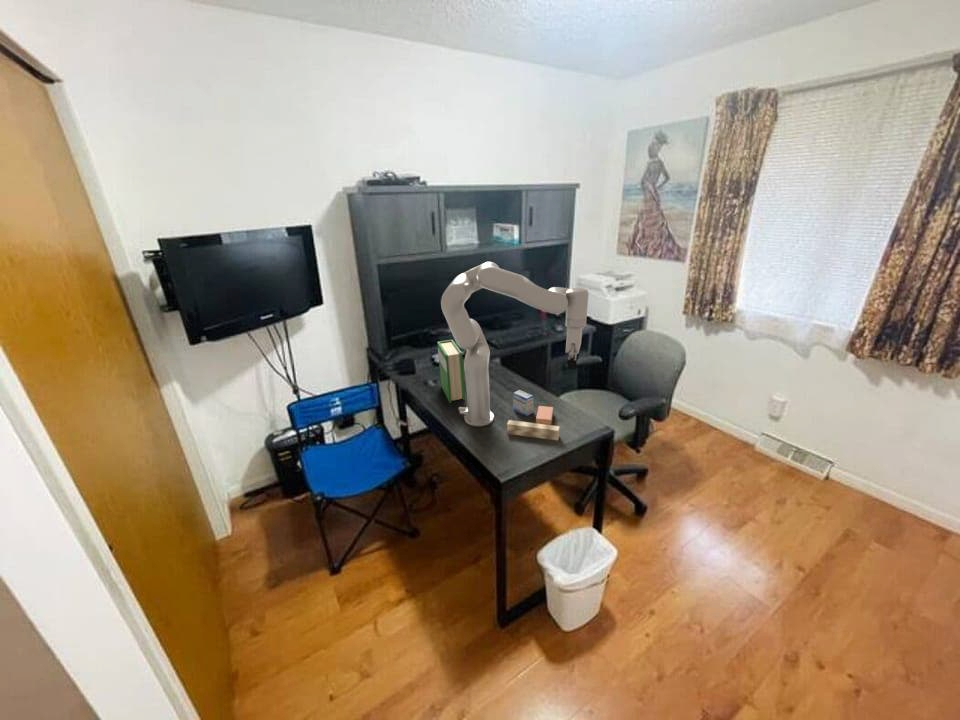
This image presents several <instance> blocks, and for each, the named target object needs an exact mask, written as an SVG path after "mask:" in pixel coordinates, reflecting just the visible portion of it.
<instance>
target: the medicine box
mask: <svg viewBox="0 0 960 720" xmlns="http://www.w3.org/2000/svg"><path fill="white" fill-rule="evenodd" d="M512 400H513V401H512V402H513V403H512V410H513V411H514V412H517V413H518V414H521V415H523V416H526V417H528V416H530V415H531V414H533V413H534V395H533V394H531V393H527V392H526V391H523V390H521V389H518V390H517V391H514V392H513V394H512Z"/></svg>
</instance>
